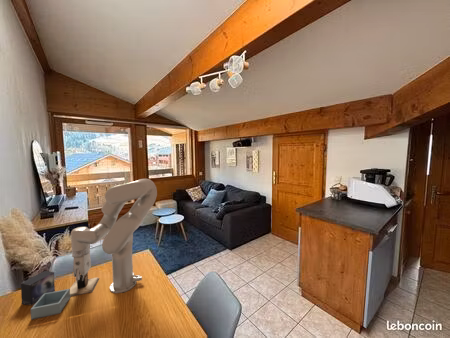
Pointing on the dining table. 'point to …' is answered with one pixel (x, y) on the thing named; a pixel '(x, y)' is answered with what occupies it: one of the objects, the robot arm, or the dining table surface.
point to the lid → (88, 287)
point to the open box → (50, 304)
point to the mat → (88, 292)
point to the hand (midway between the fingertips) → (82, 284)
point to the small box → (37, 287)
